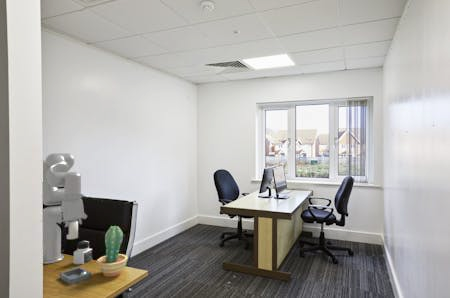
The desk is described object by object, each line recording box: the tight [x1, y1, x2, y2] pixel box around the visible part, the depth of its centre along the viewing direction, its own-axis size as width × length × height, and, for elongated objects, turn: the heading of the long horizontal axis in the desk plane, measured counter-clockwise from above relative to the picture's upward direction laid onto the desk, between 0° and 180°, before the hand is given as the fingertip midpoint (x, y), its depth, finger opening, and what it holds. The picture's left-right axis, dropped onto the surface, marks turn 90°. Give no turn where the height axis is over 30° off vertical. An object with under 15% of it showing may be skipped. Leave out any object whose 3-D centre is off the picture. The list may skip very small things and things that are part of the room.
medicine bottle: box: [73, 240, 93, 265], centre depth 169 cm, size 7×7×12 cm
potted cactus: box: [96, 225, 128, 277], centre depth 153 cm, size 15×15×25 cm
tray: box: [59, 266, 92, 286], centre depth 147 cm, size 12×10×3 cm
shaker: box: [66, 218, 79, 240], centre depth 148 cm, size 5×5×10 cm
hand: (72, 232), depth 148 cm, fingers closed on shaker, 5 cm apart
